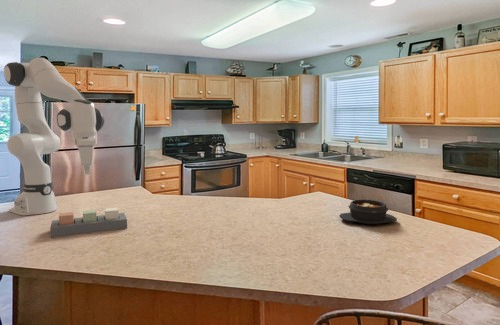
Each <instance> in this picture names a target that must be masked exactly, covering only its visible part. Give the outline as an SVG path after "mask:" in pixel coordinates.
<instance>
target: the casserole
mask: <svg viewBox="0 0 500 325" xmlns="http://www.w3.org/2000/svg"><path fill="white" fill-rule="evenodd" d="M348 209H349V211H350V212H344V213H340V214H339V215H338V216H339V218H340V219H342V220H344V221H347V222H354V223H355V222H356V223H359V224H362V225H369V226H371V225H373V226H374V225H375V226H376V225H381V224H384V223H392V222H396V221H398V219H397V218H396V217H395V216H394V215H393V214H392V215H391V214H389V213H387V212H388V211H389V208H388V207H387V204H386V203H385V202H382V201H378V200H374V199H356V200H352V201H351V202H350V204H349V205H348Z"/></svg>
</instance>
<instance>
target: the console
mask: <svg viewBox="0 0 500 325" xmlns="http://www.w3.org/2000/svg"><path fill="white" fill-rule="evenodd" d="M118 215H119V219H110V220H105V214H100V215H96V217H97V221H93V222H84V223H83V216H82V217H74V224H66V225H59V219H53V220H51V225H50V227H49V231H50V239H55V238H63V237H64V238H65V237H69V236H70V237H71V236H78V235H80V236H81V235H86V234H94V233H101V232H109V231H110V232H111V231H119V230H125V229H128V219H127V216H126V214H125V212H120V213H119V212H118Z"/></svg>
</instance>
